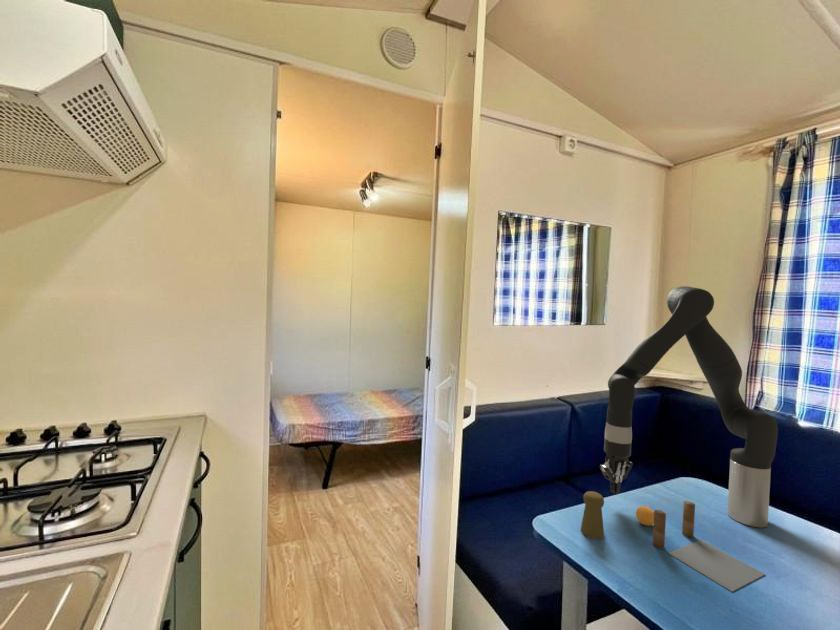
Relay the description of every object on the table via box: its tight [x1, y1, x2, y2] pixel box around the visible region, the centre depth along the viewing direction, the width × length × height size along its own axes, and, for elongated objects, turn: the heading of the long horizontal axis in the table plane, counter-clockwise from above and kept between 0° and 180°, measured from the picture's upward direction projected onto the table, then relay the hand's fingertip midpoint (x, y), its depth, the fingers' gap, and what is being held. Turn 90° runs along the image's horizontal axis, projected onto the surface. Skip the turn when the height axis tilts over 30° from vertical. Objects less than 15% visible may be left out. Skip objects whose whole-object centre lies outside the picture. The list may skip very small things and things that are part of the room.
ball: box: [635, 505, 654, 527], centre depth 109 cm, size 5×5×5 cm
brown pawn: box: [580, 490, 605, 540], centre depth 104 cm, size 6×6×11 cm
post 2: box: [681, 500, 696, 539], centre depth 105 cm, size 3×3×9 cm
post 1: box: [652, 509, 667, 550], centre depth 99 cm, size 3×3×9 cm
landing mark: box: [668, 539, 766, 593], centre depth 93 cm, size 14×14×1 cm
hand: (614, 492), depth 118 cm, fingers closed
